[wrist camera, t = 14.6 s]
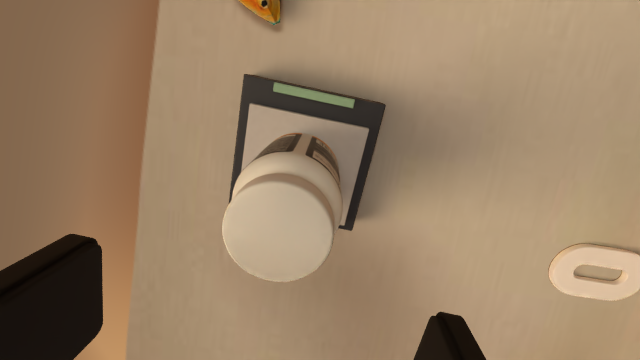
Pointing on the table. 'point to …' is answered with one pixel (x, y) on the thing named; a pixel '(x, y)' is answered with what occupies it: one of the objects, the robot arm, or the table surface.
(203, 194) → the table surface
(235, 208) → the pill bottle
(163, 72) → the table surface
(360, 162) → the scale
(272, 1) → the fish
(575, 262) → the chain link
